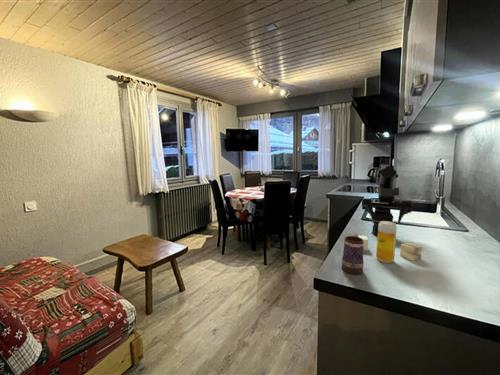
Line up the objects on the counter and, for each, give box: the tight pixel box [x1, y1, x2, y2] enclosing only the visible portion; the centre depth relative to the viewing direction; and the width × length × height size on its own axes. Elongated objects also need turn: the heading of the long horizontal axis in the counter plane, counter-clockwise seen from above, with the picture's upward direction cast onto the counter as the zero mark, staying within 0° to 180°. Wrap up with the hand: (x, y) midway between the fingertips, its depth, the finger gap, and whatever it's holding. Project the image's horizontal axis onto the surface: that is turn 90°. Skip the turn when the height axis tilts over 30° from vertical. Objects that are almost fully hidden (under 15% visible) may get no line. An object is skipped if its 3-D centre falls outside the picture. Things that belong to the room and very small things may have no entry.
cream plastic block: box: [358, 234, 369, 252], centre depth 102 cm, size 5×5×5 cm
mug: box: [341, 233, 365, 276], centre depth 83 cm, size 10×7×12 cm
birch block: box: [399, 242, 423, 261], centre depth 93 cm, size 5×5×5 cm
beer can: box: [375, 221, 398, 264], centre depth 89 cm, size 6×6×15 cm
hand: (385, 222), depth 96 cm, fingers open, 9 cm apart
